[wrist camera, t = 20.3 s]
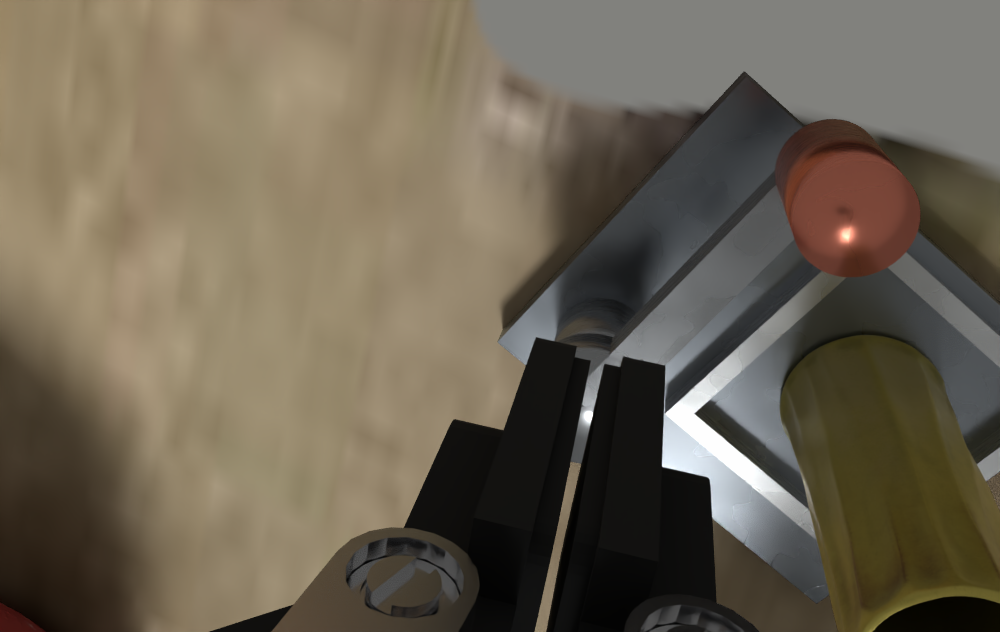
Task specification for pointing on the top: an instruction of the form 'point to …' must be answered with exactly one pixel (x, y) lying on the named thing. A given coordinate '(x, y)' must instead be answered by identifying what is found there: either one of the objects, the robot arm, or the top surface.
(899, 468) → the vase
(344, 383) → the top surface
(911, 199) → the lever
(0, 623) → the mixing bowl
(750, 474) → the bed
